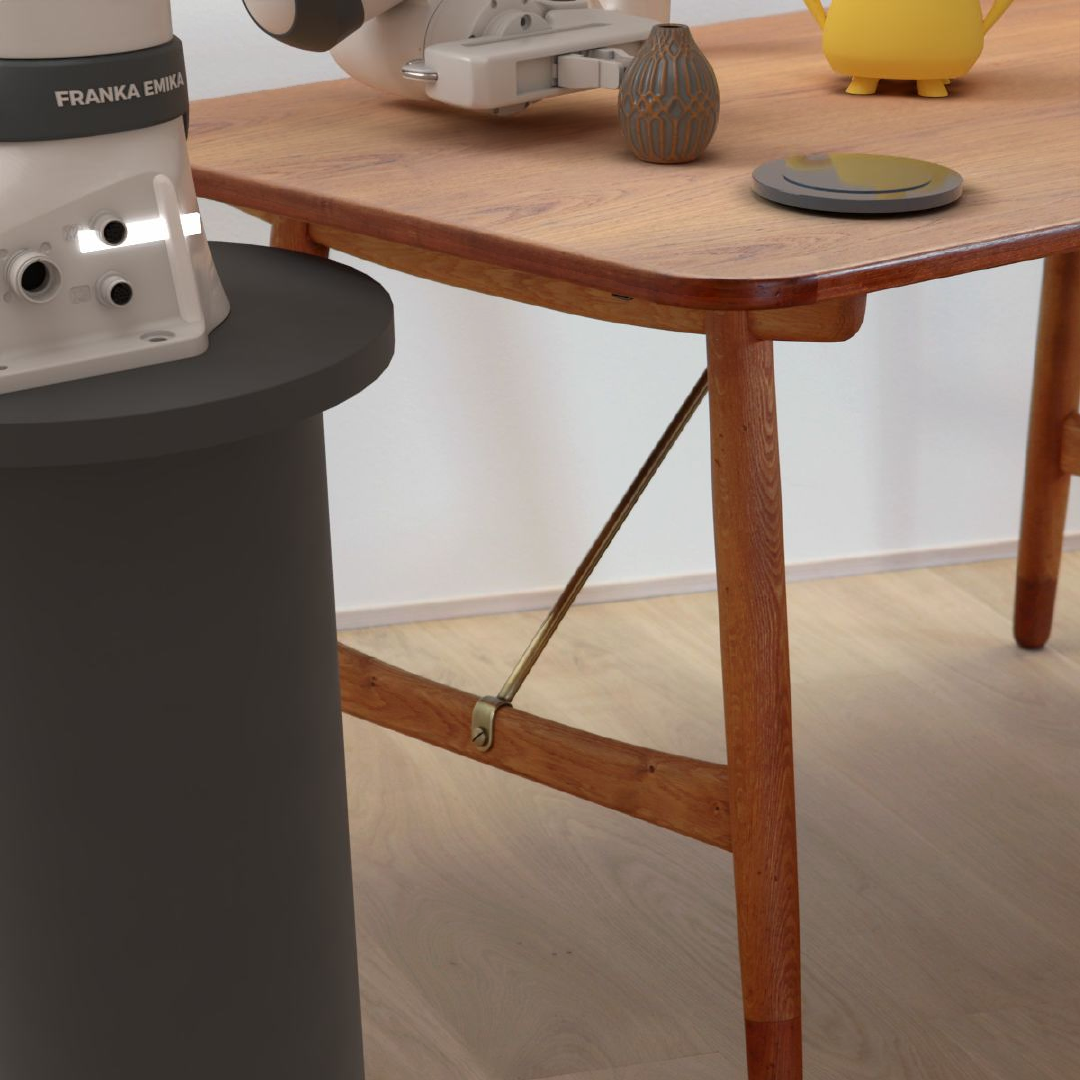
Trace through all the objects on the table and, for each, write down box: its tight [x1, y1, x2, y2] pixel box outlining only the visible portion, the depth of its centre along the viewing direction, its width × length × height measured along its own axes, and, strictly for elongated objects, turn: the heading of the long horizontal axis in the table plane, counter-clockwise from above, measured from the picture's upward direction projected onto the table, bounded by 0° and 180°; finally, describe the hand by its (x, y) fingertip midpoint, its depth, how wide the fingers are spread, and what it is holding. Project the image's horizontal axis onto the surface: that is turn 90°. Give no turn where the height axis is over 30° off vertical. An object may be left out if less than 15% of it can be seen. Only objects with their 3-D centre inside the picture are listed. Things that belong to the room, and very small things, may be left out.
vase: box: [617, 22, 721, 164], centre depth 117 cm, size 7×7×9 cm
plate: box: [751, 152, 964, 214], centre depth 108 cm, size 13×13×1 cm
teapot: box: [802, 0, 1015, 98], centre depth 141 cm, size 14×14×12 cm
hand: (633, 74), depth 119 cm, fingers closed, pressing on vase
